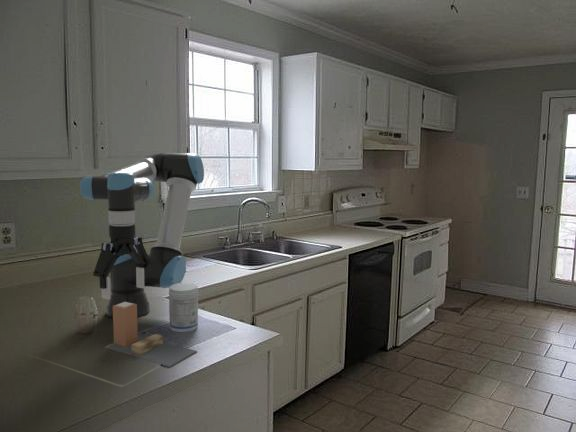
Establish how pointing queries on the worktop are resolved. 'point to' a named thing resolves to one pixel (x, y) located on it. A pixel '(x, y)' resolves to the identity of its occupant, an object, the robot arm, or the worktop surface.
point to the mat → (158, 353)
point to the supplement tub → (183, 307)
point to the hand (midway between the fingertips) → (124, 293)
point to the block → (125, 323)
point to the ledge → (146, 344)
